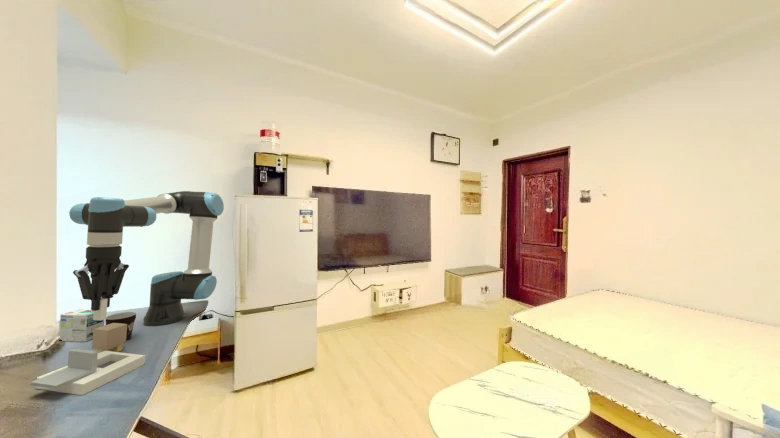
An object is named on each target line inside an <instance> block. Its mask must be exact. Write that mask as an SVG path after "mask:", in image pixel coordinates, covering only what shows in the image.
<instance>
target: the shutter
mask: <svg viewBox="0 0 780 438" xmlns="http://www.w3.org/2000/svg"><path fill="white" fill-rule="evenodd" d="M67 356H68V357H67V358H68V359H67V365H68V367H67V368H65V369H62V370H60V371H57V372H55V373H52V374H50V375H47V376H45V377H42V378H40V379H37V380H36V379H35V380H32V381H30V383H29V385H30V386H33V387H35V386H40V387H47V388H54V389H57V388H59V387H61V386H64V385H66V384H68V383H70V382H73V381H75V380H77V379H79V378H82V377H84V376H86V375H88V374H91V373H93V372H95V371H96V370H97V357H98V350H97V351H95V350H88V349H81V348H80V349H79V348H73V349H70V350H68V355H67Z"/></svg>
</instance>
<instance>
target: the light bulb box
mask: <svg viewBox="0 0 780 438" xmlns="http://www.w3.org/2000/svg"><path fill="white" fill-rule="evenodd" d="M93 313H94V311H93V310H91V309H83V308H81V309H75V310H72V311H71V310H70V311H68V312H63V313H61V314H60V317H59V318H60V319H59V329H58V330H59V332H58V337H59V336H60V339H61V340H62V341H61V342H76V343H77V342H79V343H80V342H83V343H86V342H88V341H90V340H91V341H92V340H93V329H95V328H98V327H102V326H105V319H104V320H101V321H99V320H93Z"/></svg>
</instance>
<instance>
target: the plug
mask: <svg viewBox="0 0 780 438" xmlns="http://www.w3.org/2000/svg"><path fill="white" fill-rule="evenodd" d="M126 334H127V324H121V323H111V324H108V325H106V324H104V326H102V327H98V328H95V329H93V339H92V340H91V341H92V343H91V344H92V345H91V349H92V350H97V352H98V353H101V352H103V351H113V352H121V351H123V348H124V347H123V345H124V344H126V343H127V341H126Z"/></svg>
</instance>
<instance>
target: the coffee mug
mask: <svg viewBox="0 0 780 438" xmlns="http://www.w3.org/2000/svg"><path fill="white" fill-rule="evenodd" d="M136 319H137V312H136V311H123V312H117V313H114V314H110V315H106V319H105V325H108V324H111V323H121V324H127V334H126V342H127V341H130V340H131V338H132V334H133V329H134V326H135V320H136Z"/></svg>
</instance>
